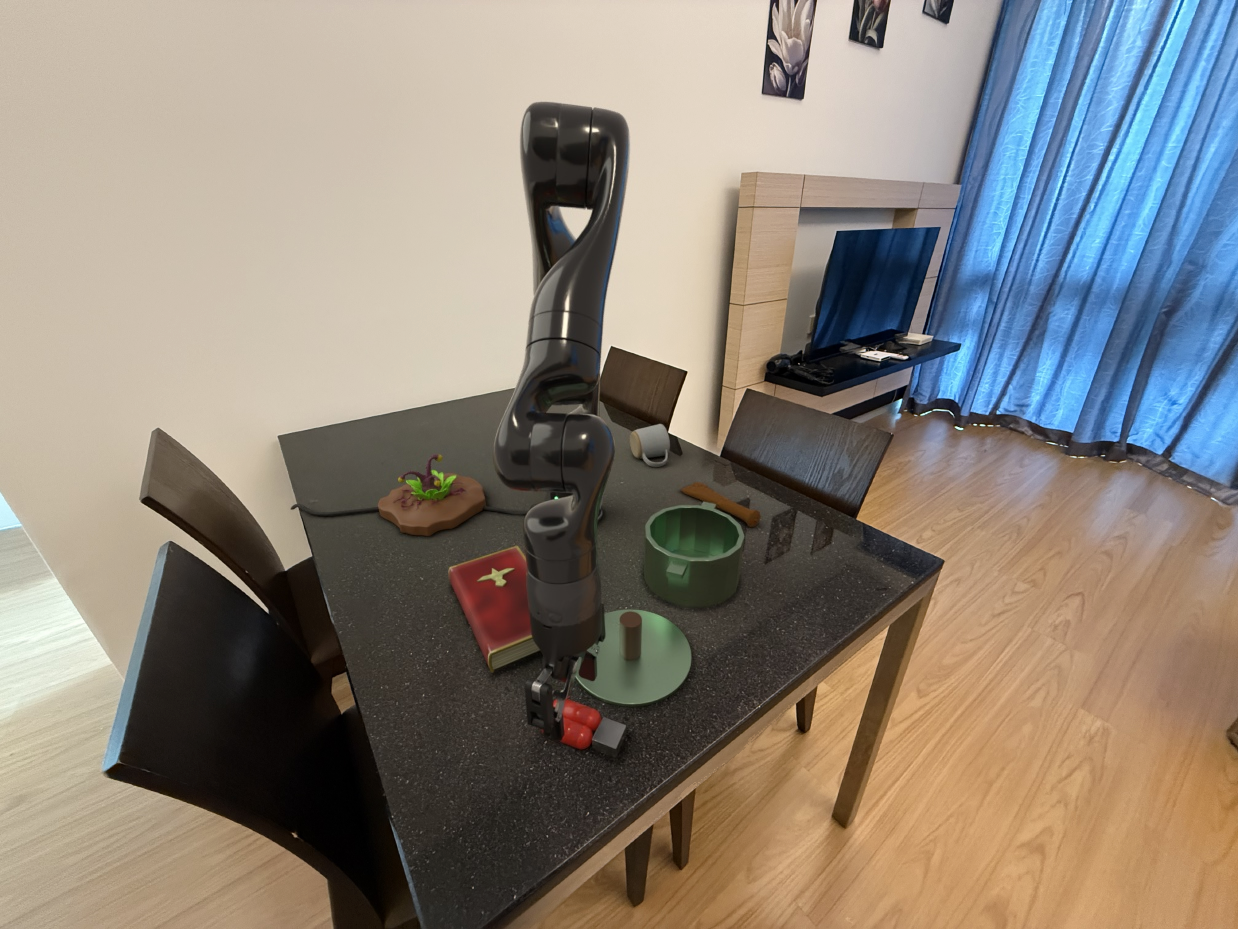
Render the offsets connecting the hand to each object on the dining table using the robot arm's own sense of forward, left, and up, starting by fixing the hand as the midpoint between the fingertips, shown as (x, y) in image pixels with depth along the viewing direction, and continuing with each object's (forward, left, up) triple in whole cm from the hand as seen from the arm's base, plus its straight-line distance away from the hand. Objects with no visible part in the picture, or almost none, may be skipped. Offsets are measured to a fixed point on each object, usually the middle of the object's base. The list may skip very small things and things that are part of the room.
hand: (572, 705), depth 61 cm
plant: (-50, +35, -5) cm, 61 cm away
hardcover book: (-19, +14, -5) cm, 24 cm away
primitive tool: (+4, +57, -5) cm, 57 cm away
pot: (+5, +33, -5) cm, 34 cm away
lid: (+2, +13, -4) cm, 14 cm away
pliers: (+1, 0, -5) cm, 5 cm away
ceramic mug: (-16, +73, -5) cm, 75 cm away
